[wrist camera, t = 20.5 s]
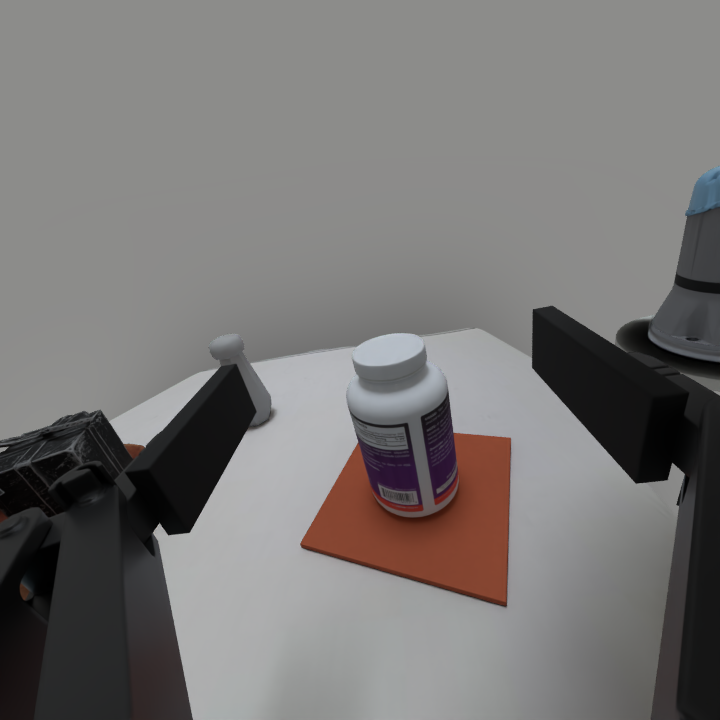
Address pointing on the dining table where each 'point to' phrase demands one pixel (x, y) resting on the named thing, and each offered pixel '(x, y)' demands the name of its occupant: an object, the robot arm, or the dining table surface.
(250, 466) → the dining table surface
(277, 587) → the dining table surface
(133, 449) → the decorative object
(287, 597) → the dining table surface
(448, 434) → the pill bottle
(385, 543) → the terracotta mat
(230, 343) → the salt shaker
